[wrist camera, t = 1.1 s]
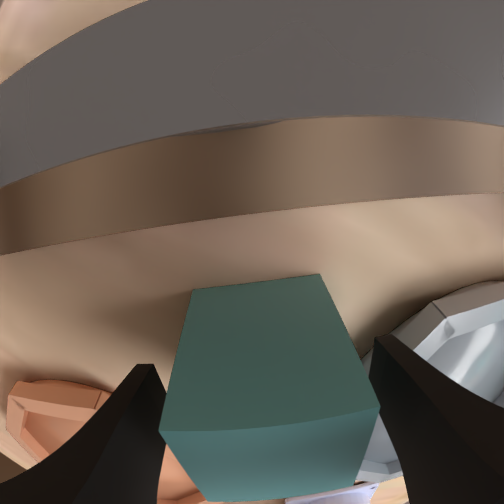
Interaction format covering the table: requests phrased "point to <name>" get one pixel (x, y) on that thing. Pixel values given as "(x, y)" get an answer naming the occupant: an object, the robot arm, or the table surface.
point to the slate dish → (448, 357)
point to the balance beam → (249, 72)
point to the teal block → (267, 393)
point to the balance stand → (250, 175)
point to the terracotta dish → (71, 420)
